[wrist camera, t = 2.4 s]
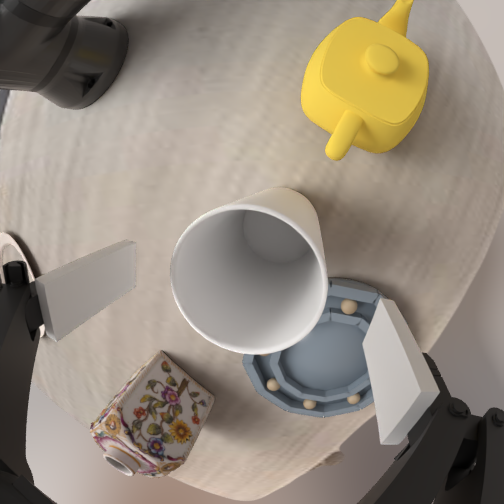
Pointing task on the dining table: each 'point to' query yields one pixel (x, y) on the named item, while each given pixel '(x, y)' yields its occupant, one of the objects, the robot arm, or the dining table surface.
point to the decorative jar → (153, 419)
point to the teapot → (366, 83)
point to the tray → (323, 358)
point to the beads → (272, 384)
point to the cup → (252, 272)
